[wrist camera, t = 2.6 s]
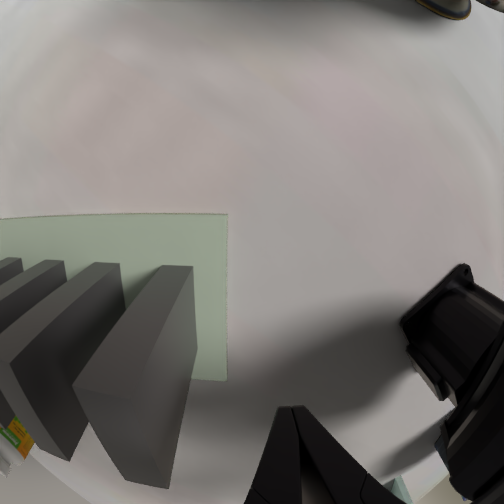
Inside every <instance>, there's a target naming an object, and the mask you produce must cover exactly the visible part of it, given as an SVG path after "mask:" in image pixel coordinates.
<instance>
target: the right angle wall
mask: <svg viewBox="0 0 504 504" xmlns="http://www.w3.org/2000/svg"><path fill="white" fill-rule="evenodd" d="M391 493H392V494H394V495H395V496H397V497H398V498H399V499H401V500H402V501H404V502H405V503H407V504H413V502H412V500H411V497H410V495H409V493H408V490H407V488H406V486H405V484H404V481H403V479H402V477H401V476H399V477H396V478H395V480H394V484H393V487H392V490H391Z"/></svg>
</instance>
